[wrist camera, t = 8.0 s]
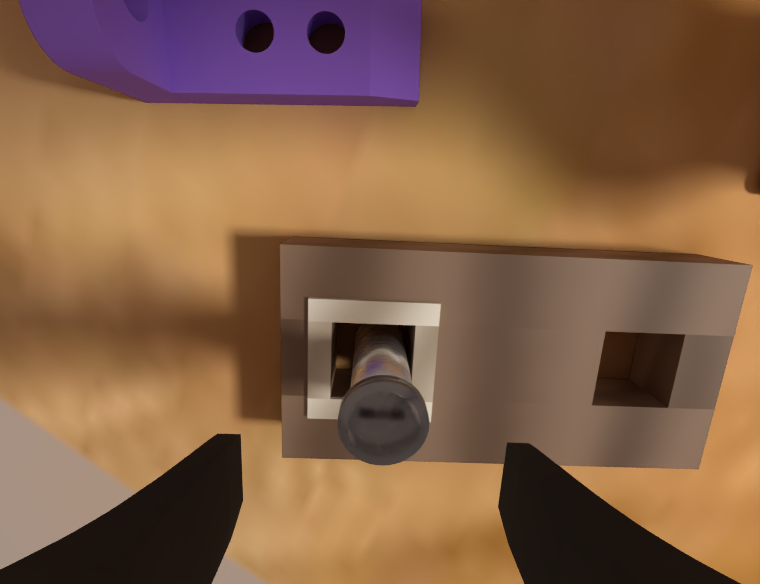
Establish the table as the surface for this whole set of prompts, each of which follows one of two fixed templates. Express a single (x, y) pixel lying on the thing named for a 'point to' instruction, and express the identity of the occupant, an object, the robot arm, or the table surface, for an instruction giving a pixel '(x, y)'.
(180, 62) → the bracket
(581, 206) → the table surface
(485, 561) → the table surface
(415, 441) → the pin
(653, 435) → the board
